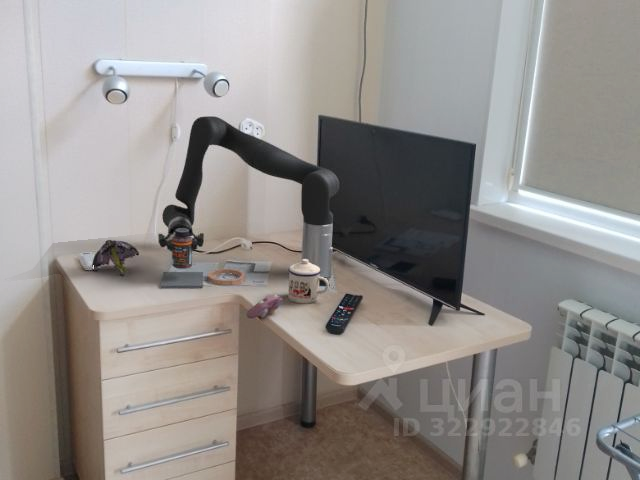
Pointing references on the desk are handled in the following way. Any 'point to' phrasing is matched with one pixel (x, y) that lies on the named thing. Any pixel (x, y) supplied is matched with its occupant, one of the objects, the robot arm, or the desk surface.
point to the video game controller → (265, 307)
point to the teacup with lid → (305, 282)
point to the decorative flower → (114, 254)
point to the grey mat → (182, 280)
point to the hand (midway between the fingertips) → (182, 247)
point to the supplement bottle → (181, 249)
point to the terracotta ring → (226, 282)
